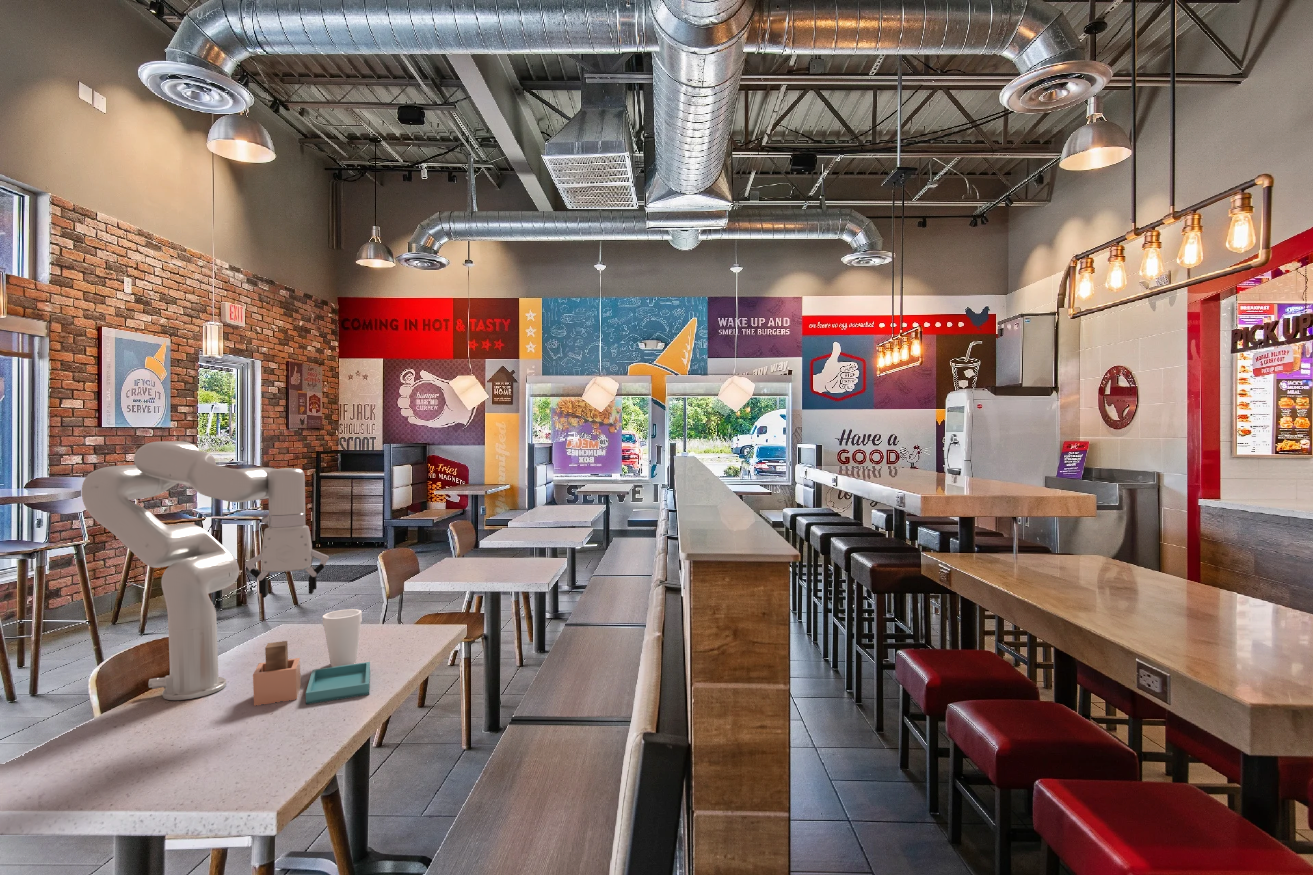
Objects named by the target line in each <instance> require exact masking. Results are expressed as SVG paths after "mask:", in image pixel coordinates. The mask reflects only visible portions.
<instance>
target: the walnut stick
mask: <svg viewBox="0 0 1313 875" xmlns="http://www.w3.org/2000/svg"><path fill="white" fill-rule="evenodd" d="M288 646H289V645H288V640H282V641H275V642H268V643H267V644H266V646H265V650H264V652H265V653H264V654H265V655H264V656H265V662H266V671H273V670H281V669H288V659H289V652H288Z"/></svg>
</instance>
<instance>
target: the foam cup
mask: <svg viewBox="0 0 1313 875" xmlns="http://www.w3.org/2000/svg"><path fill="white" fill-rule="evenodd" d="M362 613H363V611H362V610H361V609H356V608H355V609H354V608H351V609H350V608H349V609H339V610H333V611H330V612H327V613H325V614H323V615H322V626H323V628H324V634H325V640H326V641H325V642H326V645H327V652H328V658H329V663H330V667H336V666H343V665H350V664H354V663H355V662H356V663H357V662H358V655H359V646H360V644H359V643H360V635H361V625H362V622H363V617H362V615H363V614H362ZM356 663H355V664H356Z"/></svg>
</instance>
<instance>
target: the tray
mask: <svg viewBox="0 0 1313 875" xmlns="http://www.w3.org/2000/svg"><path fill="white" fill-rule="evenodd" d="M370 684H371V662H370V661H366V662H365V661H364V662H358V663H357V662H356V663H355V664H350V665H343V666H336V667H332V666H329V667H323V668H316V669H312V670H311V674H310V677H309V681H308V684H307V688H306V691H305V704H306V705H309V704H310V705H311V704H317V703H323V702H329V701H336V700H342V699H343V700H344V699H348V698H349V699H350V698H355V697H364V696H369V695H370V688H371V687H370V686H371V685H370Z"/></svg>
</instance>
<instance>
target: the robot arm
mask: <svg viewBox="0 0 1313 875" xmlns="http://www.w3.org/2000/svg"><path fill="white" fill-rule="evenodd" d="M133 462H134V463H133V464H127V465H126V464H125V465H112V466H106V467H105V466H104V467H101V468H98V469H96V470H93V471H92V472H89V474H87V475H86V476H85V478H84V479H83V482H82V485H81V497H82V502H83V505H84V508H85V509H86V511H87V513H88V514H89V515H90V516H91V517H92V518H93V519H94V520H95V521H96V522H97V523H99V524H100V525H101V526H102V527H104V528H105V529H106V530H107V531H108V532H110V533H111V534H112V535H114V536H115V537H116V538H117V539H118V540H119V541H120V542H121V543H122V544H123V545H124V546H125V547H127V549H128V550H129V551H130V552H132V554H134V555H135V556H136V557H137V558H138V559H139V560H141V562H142V563H144V564H145V565H146V566H148V567H151V568H155V569H156V568H158V569H161V568H165V567H167V568H166V569H165V570H164V572H163V574H162V577H161V580H160V581H161V582H160V583H161V589H162V593H163V597H164V601H165V604H166V610H167V627H168V628H167V629H168V649H169V650H168V652H169V653H168V654H169V656H168V657H169V675H165V676H164V677H154V678H149V679H148V688H149V689H150V688H151V689H152V690H154V689H156V690H157V689H159V688H163V691H162V692H161V693H162V699H165V700H169V701H183V700H192V699H197V698H201V697H206V696H208V695H212V694H215V693H217V692H219V691H221V690H223V689H224V688H225V687H226V685H227V679H226V678H224V677H221V676H219V656H218V654H219V653H218V652H219V651H218V626H217V625H218V622H217V610H216V608H215V605H214V604H213V603H214V602H212V600H211V598H210V596H209V594H212V593H215V592H217V591H221V590H224V589H226V588H229V587H230V586H232V585H233V584H234V583H236V581H237V579H238V578H239V575H240V566H239V563H238V560H237V559H236V558H235V556H234V555H233V554H232V553H231V552H230V551H229V550H228V549H227V548H225V547H224V545H223V544H221V542H220V541H218V540H217V539H216V538H215V537H214V536H212V535H211V534H210V532H208V531H207V530H206V529H204V528H203V527H201V526H199V525H196V524H193V523H179V524H172V525H169V524H165V523H163V522H162V521H161V520H160V519H158V518H157V517H156V516H155V515H154V514H153V513H152V512H151V511H150V510H148V509H146V508H145V507H143V506H140V505H138V504H137V503H134V502H132V501H131V500H139V499H140V500H141V499H147V498H153V497H156V496H158V495H159V496H160V495H161V494H162V493H165V492H166V491H167V490H169V489H170V488H172V487H174V486H176V485H178V484H180V485H184V486H187V487H192V488H193V490H194V491H196V492H197V493H198V494H200V495H202V496H205V497H208V498H212V499H216V500H221V501H224V502H225V501H226V502H229V503H230V502H231V503H244V502H250V501H259V500H265V499H267V500H268V515H267V516H265V517H262V518H261V524H266V525H267V526H268V527H267V528H265V529H264V532H263V538H262V548H261V553H259V554H258V555H256V556H254V557H251V558H250V559H248V560H246V561H245V563H244V564H245V567H246V568H247V569H248V571H249V572H250V574H251V575H252V576H253V577H254V578H255V579H257V580H258V583H259V584H258V588H259V589H258V590H259V591H258V592H259V595H260V594H261V598H262V599H264V598H266V597H267V596H268V595H269V578H267V575H268V574H269V573H283V572H297V571H304V570H305V571H306V572H307V573H308V575H309V577H308V594H309V595H312V594H313V593H314V592H315V590H317V575H319V573H320V572H322V570H323V569H324V568H325V566H326V564H327V563H328V561H329V559H330V556H329V555H327V554H325V553H322V552H319V551H317V550H315V549H313V543H312V536H311V531H310V527H309V525H306V484H305V483H306V478H305V472H304V470H303V469H301V468H296V467H294V468H292V467H291V468H274V467H264V466H263V467H247V468H238V469H237V468H230V467H227V466H222V465H218V464H217V461H216V459H215V457H214V456H213V455H212V454H210V453H208V452H206V451H201V450H200V449H199V448H198V447H197V446H196V445H194V444H192V443H191V442H187V441H182V440H181V441H180V440H175V441H173V440H171V441H170V440H169V441H166V440H165V441H152V442H149V443H145V444H143V445H142V446H140V447H139V448H138V449H137V450H136V452H135V453H134V456H133ZM313 557H314V558H316V559H318V560H320V562H319V564H318V565H317V566H316V567H315V566H314V565H312V564H313V562H314V561H313V559H314V558H313ZM260 561H261V569H262V571H260V569H258V568H257V567H256V565H255V564H256V563H258V562H260Z"/></svg>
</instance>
